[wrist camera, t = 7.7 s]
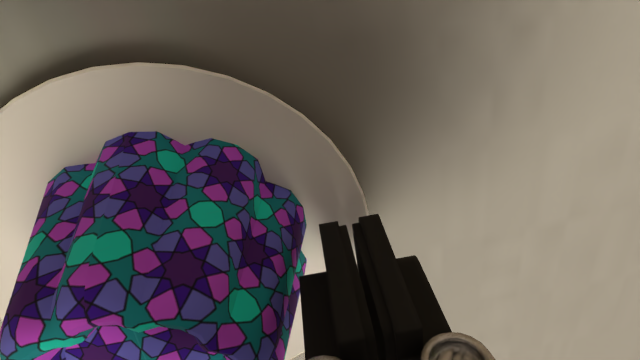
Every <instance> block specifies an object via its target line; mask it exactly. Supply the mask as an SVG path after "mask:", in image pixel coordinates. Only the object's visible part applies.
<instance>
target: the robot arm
mask: <svg viewBox="0 0 640 360" xmlns="http://www.w3.org/2000/svg"><path fill="white" fill-rule="evenodd" d="M358 221H359V223H353V224H352V230H353V237H354V245H355V252H356V260H357V264H356V260H355V256H354V252H353V249H352V245H351V241H350V237H349V233H348V229H347V226H346V225H342V226H339V224H338V221H335V222H329V223H323V224H319V230H320V236H321V242H322V248H323V254H324V261H325V267H326V272H320V273H314V274H309V275H303V276H299V284H300V297H301V310H302V322H303V335H304V348H305V360H495V358H494V357H493V356H492V354H491V353H490V352H489V350H488V349H487V348H486V347H485V346H484V345H483V344H482V343H481V342H480V341H478V340H476V339H475V338H473V337H471V336H468V335H465V334H462V333H454V332H452V331H451V329H450V327H449V325H448V323H447V321H446V319H445V316H444V314H443V312H442V310H441V308H440V306H439V303H438V301H437V299H436V297H435V295H434V293H433V290H432V288H431V286H430V284H429V282H428V280H427V277H426V275H425V273H424V271H423V269H422V267H421V264H420V262H419V260H418V259H417V257H416V256H409V257H403V258H398V259H396V258H395V255H394V253H393V250H392V248H391V245H390V243H389V240H388V238H387V235H386V232H385V230H384V227H383V225H382V222H381V220H380V217H379V215H378V214H374V215H368V216H363V217H359V218H358ZM357 267H358V268H357Z"/></svg>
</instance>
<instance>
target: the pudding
mask: <svg viewBox="0 0 640 360" xmlns="http://www.w3.org/2000/svg"><path fill="white" fill-rule="evenodd" d="M368 215H369V212H368V208H367V204H366V200H365V196H364V193H363V191H362V189H361V187H360V184H359V182H358V180H357V178H356V176H355V174H354V172H353V170H352V168H351V166H350V165H349V163H348V162H347V161H346V159H345V158H344V157H343V155H342V154H341V153H340V151H339V150H338V149H337V147H336V146H335V145H334V143H333V142H332V141H331V139H330V138H329V137H327V136H326V135H325V134H324V133H323V132H322V131H321V130H320V129H319V128H318V127H316V126H315V125H314V124H313V123H312V122H311V121H310V120H309V119H308V118H307V117H305V116H304V115H303V114H302V113H300V112H299V111H297V110H295V109H294V108H292V107H291V106H289V105H288V104H286V103H284V102H283V101H281V100H280V99H278V98H276V97H275V96H273V95H272V94H270V93H268V92H266V91H264V90H261V89H259V88H257V87H254V86H252V85H249V84H247V83H245V82H242V81H240V80H237V79H235V78H233V77H230V76H227V75H223V74H219V73H215V72H210V71H206V70H202V69H198V68H193V67H189V66H185V65H172V64H157V63H142V62H135V63H125V64H115V65H106V66H96V67H90V68H87V69H83V70H80V71H76V72H73V73H70V74H66V75H63V76H59V77H56V78H53V79H49V80H47V81H46V82H44V83H42V84H40V85H38V86H36V87H34V88H32V89H30V90H29V91H27V92H25V93H23V94H21V95H19V96H17V97H15V98H13V99H12V100H11V101H10V102H8V103H7V104H6V105H5V106H4V107H3V108H1V109H0V319H1V320H2V321H3V324H2V327H1V331H0V358H1V360H291V359H292V358H294V357H296V356H298V355H299V354H301V353H303V352H305V348H304V335H303V322H302V310H301V297H300V284H299V276H303V275H309V274H314V273H320V272H326V267H325V261H324V254H323V248H322V242H321V236H320V230H319V224H323V223H329V222H335V221H338V224H339V226H342V225H346V226H347V229H348V233H349V237H350V241H351V245H352V249H353V252H354V256H355V260H356V252H355V245H354V237H353V230H352V224H353V223H359V221H358V218H359V217H363V216H368ZM356 264H357V260H356ZM357 268H358V267H357Z"/></svg>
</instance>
